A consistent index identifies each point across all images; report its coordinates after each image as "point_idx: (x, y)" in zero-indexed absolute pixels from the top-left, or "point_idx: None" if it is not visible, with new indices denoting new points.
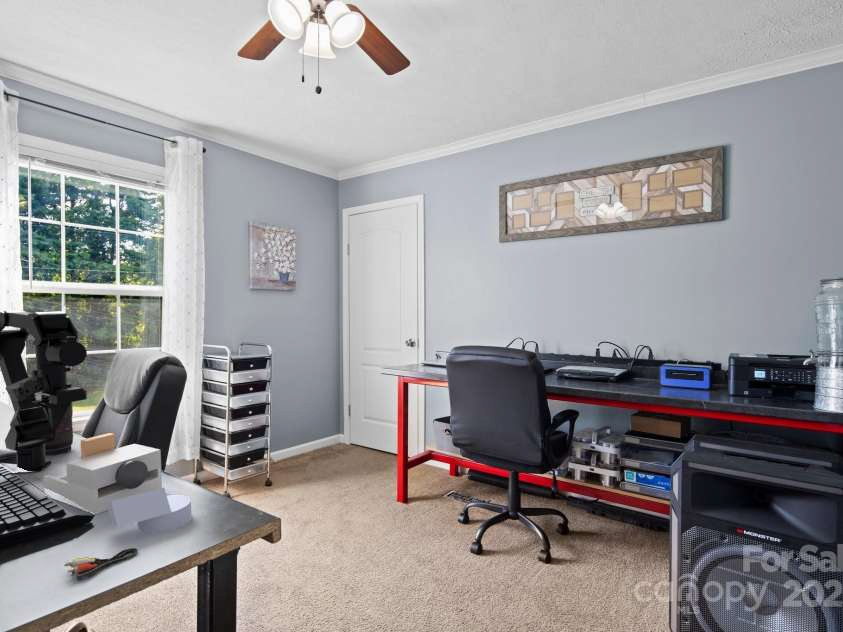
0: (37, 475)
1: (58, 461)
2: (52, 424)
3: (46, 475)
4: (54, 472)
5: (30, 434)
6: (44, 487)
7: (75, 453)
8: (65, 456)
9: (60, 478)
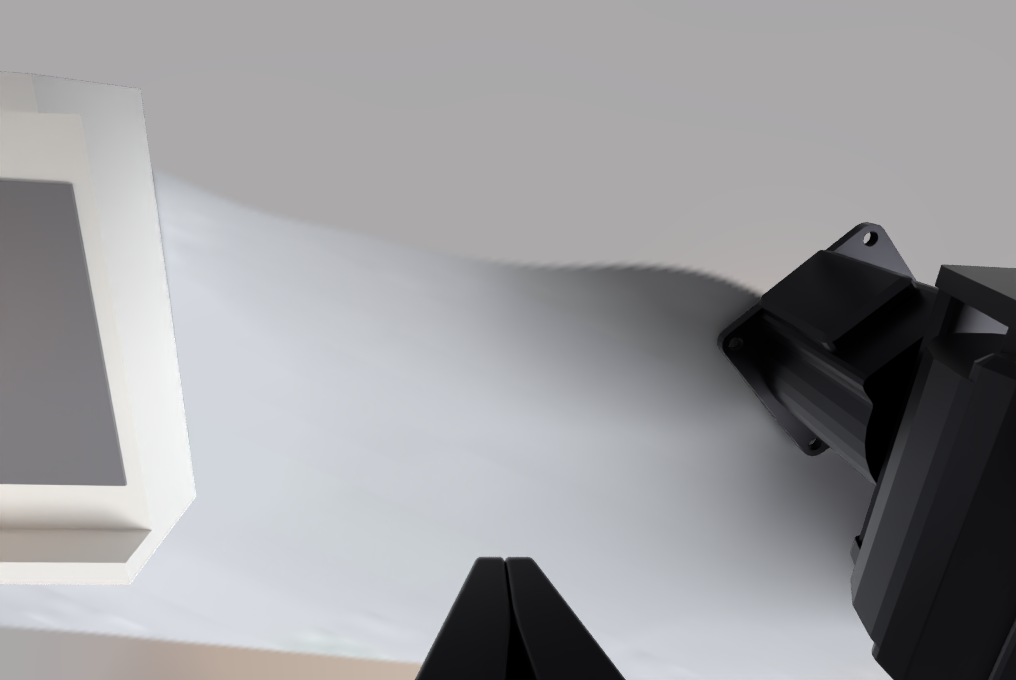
0: (660, 294)
1: (801, 484)
2: (455, 601)
3: (22, 94)
4: (607, 370)
5: (929, 425)
6: (95, 83)
7: (843, 594)
8: (851, 545)
9: (60, 196)
